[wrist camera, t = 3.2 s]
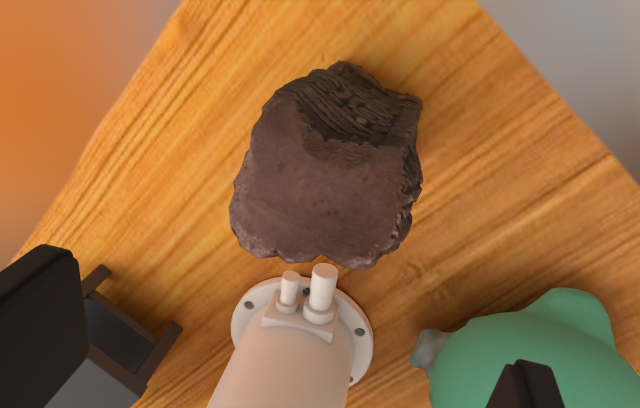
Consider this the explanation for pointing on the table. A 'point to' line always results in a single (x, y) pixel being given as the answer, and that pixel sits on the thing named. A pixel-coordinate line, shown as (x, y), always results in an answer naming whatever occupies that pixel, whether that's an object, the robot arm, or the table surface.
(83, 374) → the dark coffee table
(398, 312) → the table surface
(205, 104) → the table surface
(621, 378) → the toy
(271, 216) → the statue
